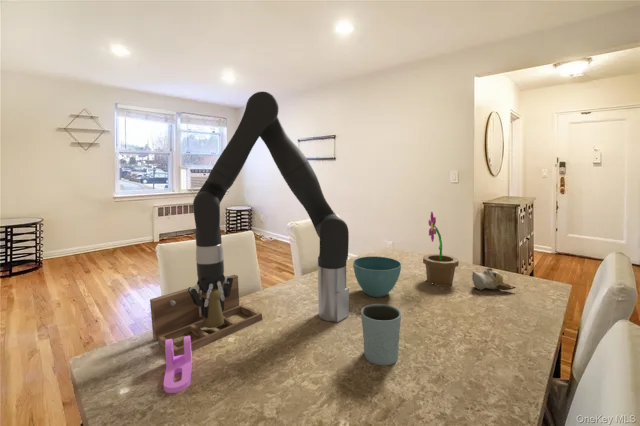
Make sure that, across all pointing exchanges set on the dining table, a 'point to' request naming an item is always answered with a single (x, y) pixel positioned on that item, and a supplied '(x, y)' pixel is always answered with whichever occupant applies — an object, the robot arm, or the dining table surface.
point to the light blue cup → (381, 333)
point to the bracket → (177, 366)
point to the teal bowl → (376, 274)
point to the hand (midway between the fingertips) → (213, 314)
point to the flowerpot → (439, 261)
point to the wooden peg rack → (195, 317)
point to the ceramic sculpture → (490, 280)
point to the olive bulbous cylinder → (214, 310)
